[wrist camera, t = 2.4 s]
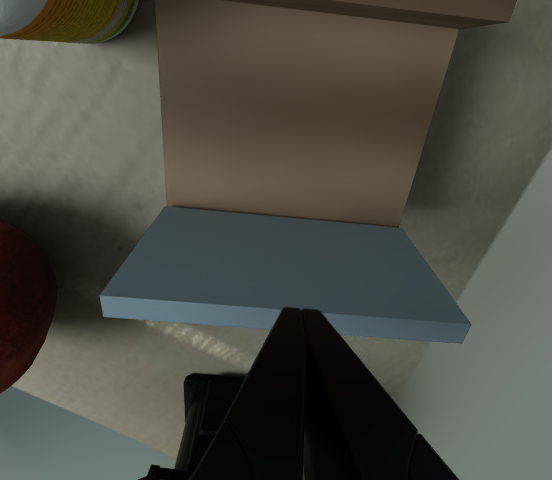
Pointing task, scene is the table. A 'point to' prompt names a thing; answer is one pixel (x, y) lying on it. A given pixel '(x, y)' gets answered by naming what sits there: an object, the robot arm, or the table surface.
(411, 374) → the table surface
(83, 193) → the table surface
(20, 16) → the supplement bottle
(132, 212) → the table surface
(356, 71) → the brown platform with wall
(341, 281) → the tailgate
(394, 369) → the table surface
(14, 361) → the fruit
